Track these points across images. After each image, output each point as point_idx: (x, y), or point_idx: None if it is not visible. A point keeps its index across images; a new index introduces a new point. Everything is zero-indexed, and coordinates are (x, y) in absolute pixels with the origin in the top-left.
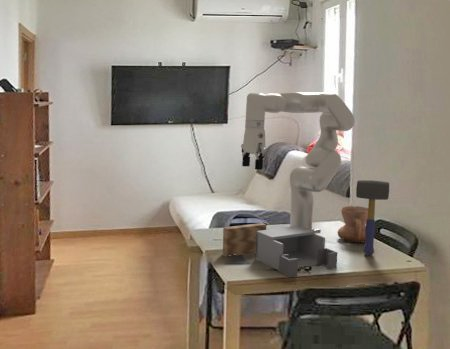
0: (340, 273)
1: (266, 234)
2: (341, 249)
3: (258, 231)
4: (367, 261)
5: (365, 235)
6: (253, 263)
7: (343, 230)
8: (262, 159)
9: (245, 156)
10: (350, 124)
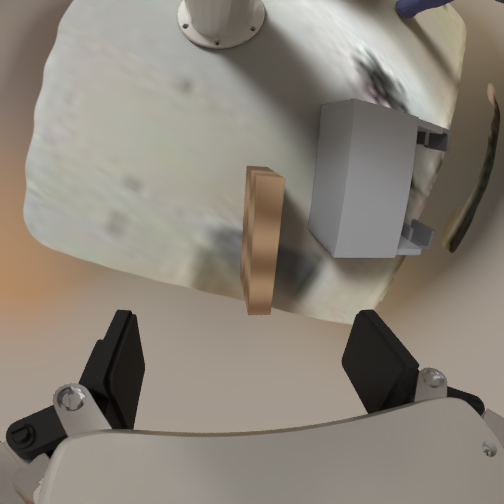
0: None
1: (372, 254)
2: (348, 8)
3: (340, 256)
4: (426, 48)
5: (423, 3)
6: None
7: None
8: (425, 377)
9: (118, 426)
10: None
